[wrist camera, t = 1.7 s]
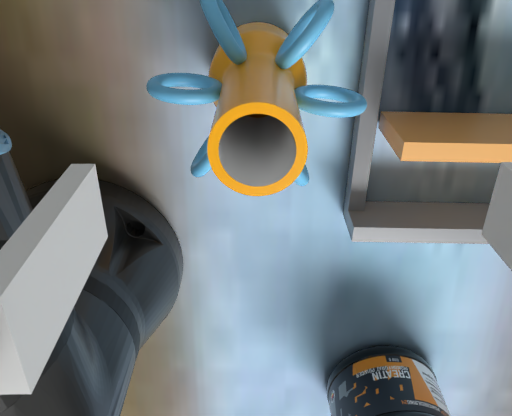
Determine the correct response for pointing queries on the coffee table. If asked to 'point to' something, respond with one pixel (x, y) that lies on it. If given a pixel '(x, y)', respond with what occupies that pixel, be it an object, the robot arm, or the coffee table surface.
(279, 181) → the cylinder
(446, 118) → the bar
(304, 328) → the coffee table surface
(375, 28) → the frame
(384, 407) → the supplement container
